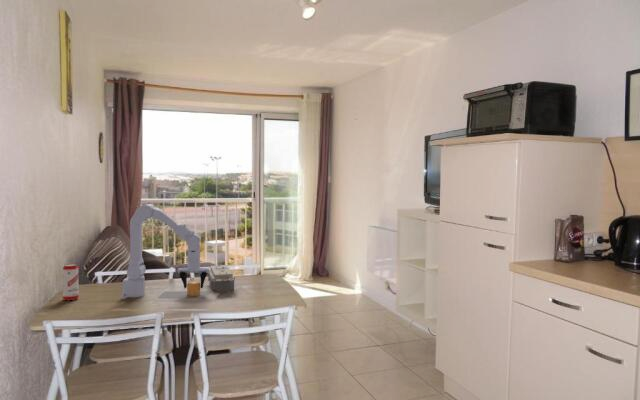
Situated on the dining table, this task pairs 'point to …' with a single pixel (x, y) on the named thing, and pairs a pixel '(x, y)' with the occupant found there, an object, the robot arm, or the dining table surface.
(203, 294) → the wiring board
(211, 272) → the gray toolbox
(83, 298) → the dining table surface
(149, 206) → the robot arm
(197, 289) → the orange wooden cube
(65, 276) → the beer can
